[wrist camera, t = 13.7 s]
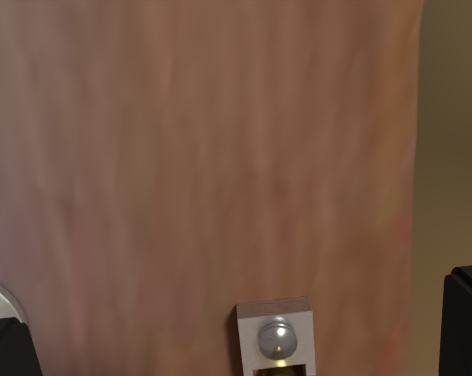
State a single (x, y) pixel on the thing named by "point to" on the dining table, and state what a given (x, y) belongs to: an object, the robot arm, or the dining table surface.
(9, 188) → the dining table surface
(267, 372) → the pin
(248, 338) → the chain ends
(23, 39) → the dining table surface
